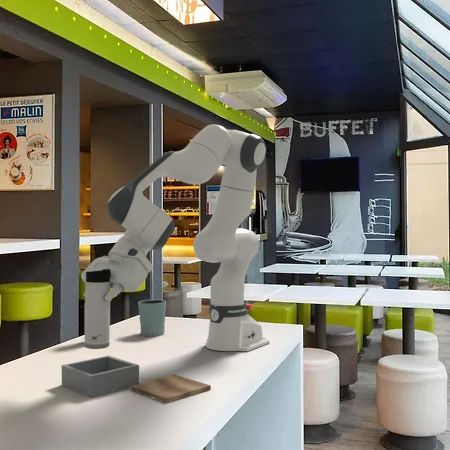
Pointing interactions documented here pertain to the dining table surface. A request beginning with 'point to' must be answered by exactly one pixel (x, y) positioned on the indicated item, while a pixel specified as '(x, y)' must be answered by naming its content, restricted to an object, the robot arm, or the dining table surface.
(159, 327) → the teal cup
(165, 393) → the serving board
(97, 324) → the travel mug
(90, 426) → the dining table surface
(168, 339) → the dining table surface
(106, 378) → the crate
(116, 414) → the dining table surface
